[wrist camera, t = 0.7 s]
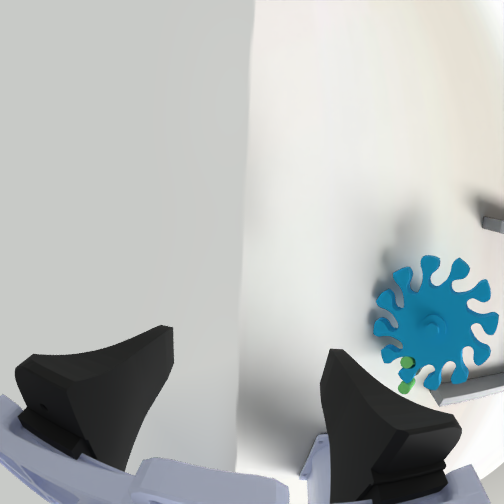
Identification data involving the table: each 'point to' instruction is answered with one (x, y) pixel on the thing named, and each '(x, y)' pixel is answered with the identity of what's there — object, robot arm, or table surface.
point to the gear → (434, 324)
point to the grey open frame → (476, 386)
